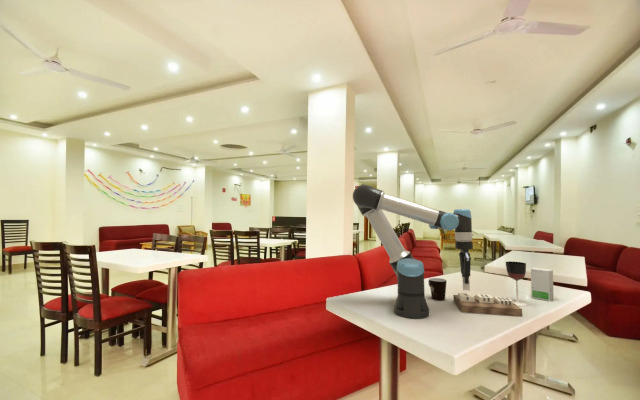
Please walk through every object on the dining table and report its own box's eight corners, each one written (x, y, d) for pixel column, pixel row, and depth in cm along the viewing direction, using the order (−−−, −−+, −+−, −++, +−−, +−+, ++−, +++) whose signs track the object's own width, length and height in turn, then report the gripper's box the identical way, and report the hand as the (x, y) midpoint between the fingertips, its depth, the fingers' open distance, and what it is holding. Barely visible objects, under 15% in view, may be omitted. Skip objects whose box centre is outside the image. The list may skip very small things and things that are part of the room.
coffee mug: (449, 301, 145) (448, 281, 146) (431, 300, 147) (430, 281, 148) (443, 295, 157) (443, 277, 157) (427, 294, 158) (426, 276, 159)
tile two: (479, 302, 132) (479, 296, 133) (475, 298, 138) (475, 293, 138) (493, 303, 131) (493, 297, 131) (489, 299, 137) (489, 294, 137)
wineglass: (515, 300, 147) (513, 261, 148) (532, 305, 139) (530, 263, 140) (503, 301, 144) (501, 261, 146) (520, 306, 136) (518, 264, 137)
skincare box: (531, 298, 150) (529, 268, 151) (535, 296, 154) (533, 267, 155) (550, 301, 144) (549, 270, 145) (554, 299, 148) (553, 269, 149)
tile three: (498, 305, 130) (498, 299, 130) (494, 301, 136) (494, 296, 136) (513, 306, 129) (513, 300, 129) (508, 302, 135) (508, 297, 135)
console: (461, 312, 129) (461, 305, 129) (453, 301, 146) (453, 294, 146) (522, 316, 123) (521, 309, 123) (506, 304, 140) (506, 297, 140)
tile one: (460, 301, 134) (460, 295, 135) (457, 297, 140) (457, 292, 140) (474, 302, 133) (474, 296, 133) (471, 298, 139) (471, 293, 139)
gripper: (476, 241, 131) (479, 294, 130) (468, 239, 144) (471, 287, 142) (458, 241, 133) (461, 293, 132) (452, 239, 146) (455, 286, 144)
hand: (466, 290), depth 137 cm, fingers closed
